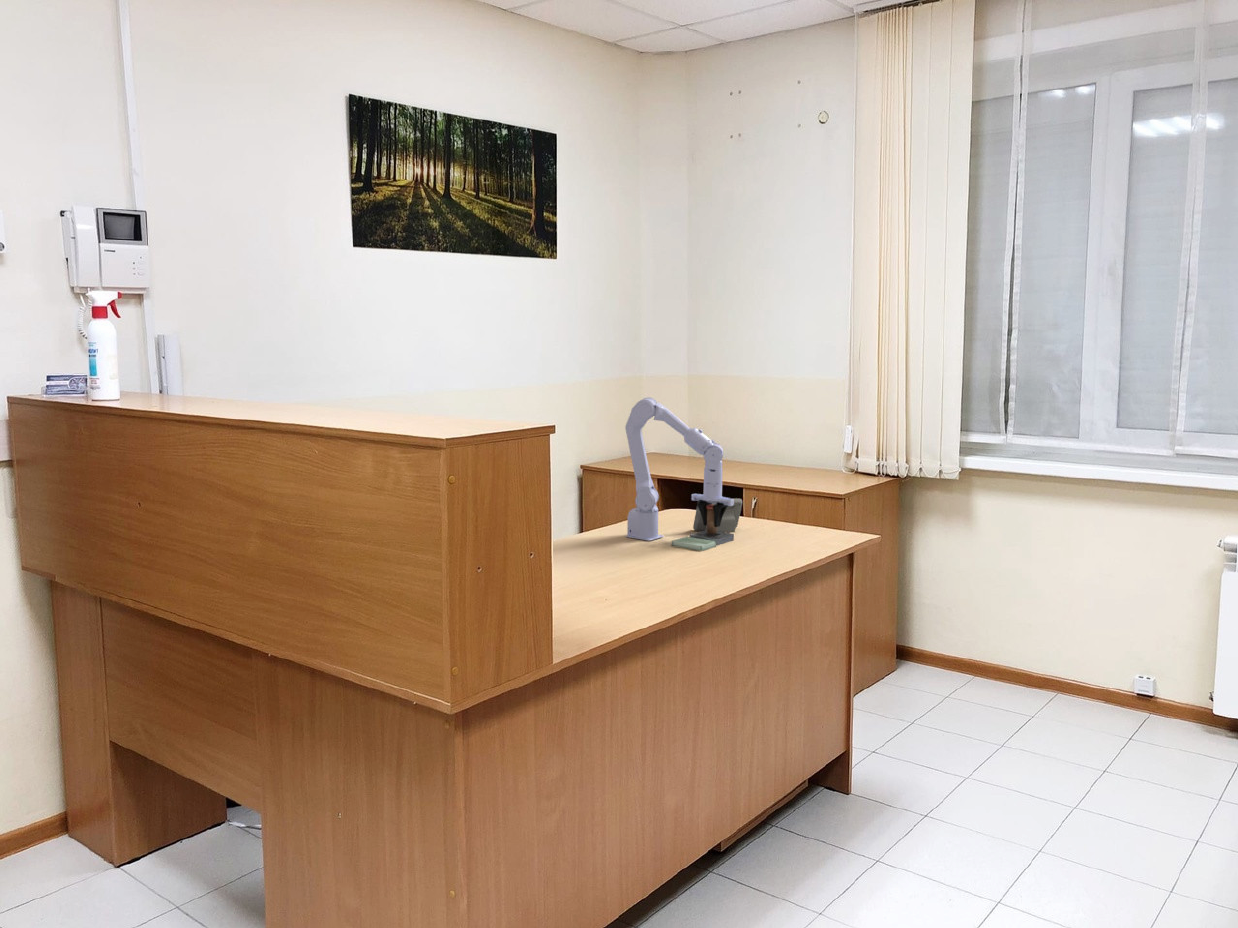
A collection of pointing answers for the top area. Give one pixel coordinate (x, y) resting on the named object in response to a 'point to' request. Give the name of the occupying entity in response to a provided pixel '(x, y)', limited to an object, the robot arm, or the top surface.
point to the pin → (710, 520)
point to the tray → (693, 543)
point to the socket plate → (714, 537)
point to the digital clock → (728, 519)
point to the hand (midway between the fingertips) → (711, 525)
